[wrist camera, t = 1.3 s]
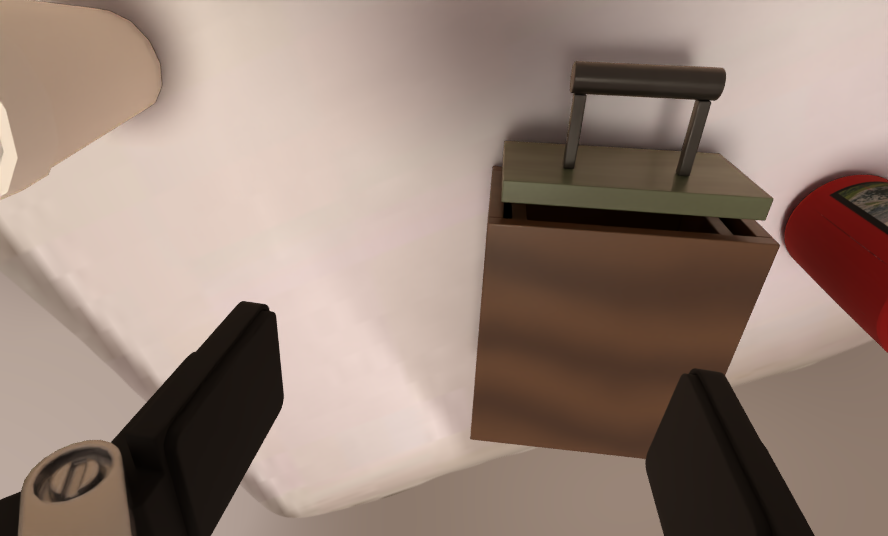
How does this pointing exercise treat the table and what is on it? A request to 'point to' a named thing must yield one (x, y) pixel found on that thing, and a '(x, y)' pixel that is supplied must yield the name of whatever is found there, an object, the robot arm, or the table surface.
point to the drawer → (632, 163)
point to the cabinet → (604, 325)
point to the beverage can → (847, 247)
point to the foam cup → (65, 84)
